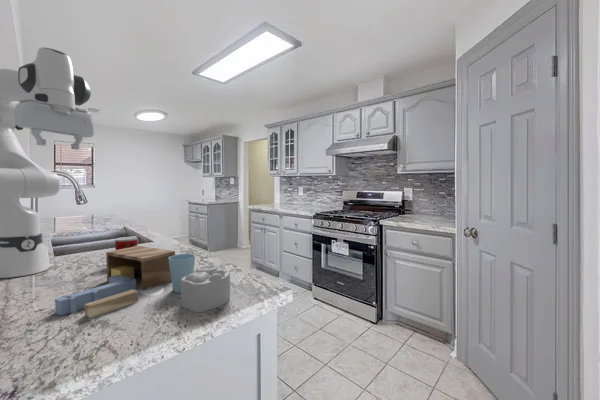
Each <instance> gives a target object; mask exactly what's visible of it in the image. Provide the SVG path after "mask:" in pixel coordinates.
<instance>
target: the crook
mask: <svg viewBox="0 0 600 400" xmlns="http://www.w3.org/2000/svg"><path fill="white" fill-rule="evenodd" d="M132 289H133V290H137V279H136V278H135V277H134V278H129V277H125V276H121V275H115V276H112V277H109V281H108V283H107V284H104V285H100V286H97V287H93V288H86V289H84V290H83V291H79V292H76V293H72V294H69V295H68V294H65V295H61V297H58V298H55V300H54V301H55V302H54V303H55V305H54V307H55V314H57V315H59V316H63V315H66V314H74V313H77V311H78V310H80V309H85V304H87V303H91V302H94V301H97V300H100V299H103V298H107V297H110V296H113V295H116V294H119V293H123V292H126V291H129V290H132Z"/></svg>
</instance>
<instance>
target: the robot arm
mask: <svg viewBox="0 0 600 400" xmlns="http://www.w3.org/2000/svg"><path fill="white" fill-rule="evenodd" d="M36 54H37V55H36V57H35V59H34V61H32V62H29V63H26V64H24V65H22V66H20V67H19V68H18V70H15V69H10V68H0V279H5V278H6V279H8V278H16V277H23V276H24V277H25V276H30V275H34V274H35V275H36V274H37V273H42V272H45V271H47V270H48V269H50V268H53V267H54V263H50V261H49V260H50V259H49V252H48V251H49V250H48V246H46V245H44V244H43V239H44V238H43V233H41V216H40V214H39V213H38V211H36V210H34V209H32V208H30V207H26V206H24V205H22V203H21V202H20V199H36V198H38V199H39V198H48V197H53V196H56V195H57V194H59V192H60V190H61V188H62V180H61V178H60V176H59V175H58V174H57V173H56V172H54V171H51V170H48V169H46V168H43V167H42V166H40V165H39V164H37V163H36V162H34V161H33V160H32V159H31V158H30V157H29V156H28V155H27V153H26V152H25V150H24V148H23V147H22V145H21V143H20V141H19V139H18V137H17V136H16V134H15V129H16V130H17V131H22V130H23V129H29V130H30V133H31V134H32V136H33V137H34V139H35V140H36V145H37V146H42V147H45V146H47V140H46V139H44V138H43V137H42V136H41V133H42V132H47V133H54V134H61V135H68V136H73V138H74V143H70V146H71V147H70V149H71V150H76V151H77V150H78V151H79V150H80V144H81V143H82V141H83V140H84V138H85V139H86V138H87V139H88V138H92V137H94V135H95V128H94V123H93V116H92V114H91V113H90V112H89V111H88V110H86V109H82V108H79V106H82V105H84V104H85V103H87V102H88V101H89V100H90V99H91V95H92V93H91V92H92V91H91V88H90V85H89V84H88V82H87V81H86V80H85V79H84V77H82V76H79V75H75V74H74V68H73V64H72V63H73V62H72V60H71V57H70V56H69V54H66V53H65V52H63V51H60V50H57V49H54V48H50V47H39V48H38V49H37V53H36ZM76 106H78V107H76Z"/></svg>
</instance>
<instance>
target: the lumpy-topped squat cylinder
mask: <svg viewBox="0 0 600 400" xmlns="http://www.w3.org/2000/svg"><path fill="white" fill-rule="evenodd" d="M230 274H231V273H230V271H228V270H224V269H222V268H217V267H211V268H209V269H204V268H198V269H195V270H194V273H192V274H189V275H188V276H185V277H183V278H182V279H181V293H180V303H181V304H180V307H183V308H185V309H188V310H189V311H191V312H193V313H194V312H195V313H201V312H202V313H203V312H206V311H209V310H213V309H215V308H217V307H220V306H223V305H224V304H227V302H229V300H230V299H231V287H230V285H231V284H230V283H231V280H230V279H231V277H230Z"/></svg>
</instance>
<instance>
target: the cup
mask: <svg viewBox="0 0 600 400" xmlns="http://www.w3.org/2000/svg"><path fill="white" fill-rule="evenodd" d="M168 259H169V266H170V273H171V280H172V281H171V286H172V291H173V293H177V294H178V293H180V294H181V279H182V278H183V277H185V276H188V275H189V274H192V273H194V272H195V261H196V255H195V254H193V253H182V254H175V255H173V256H170V257H169V258H168Z"/></svg>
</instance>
